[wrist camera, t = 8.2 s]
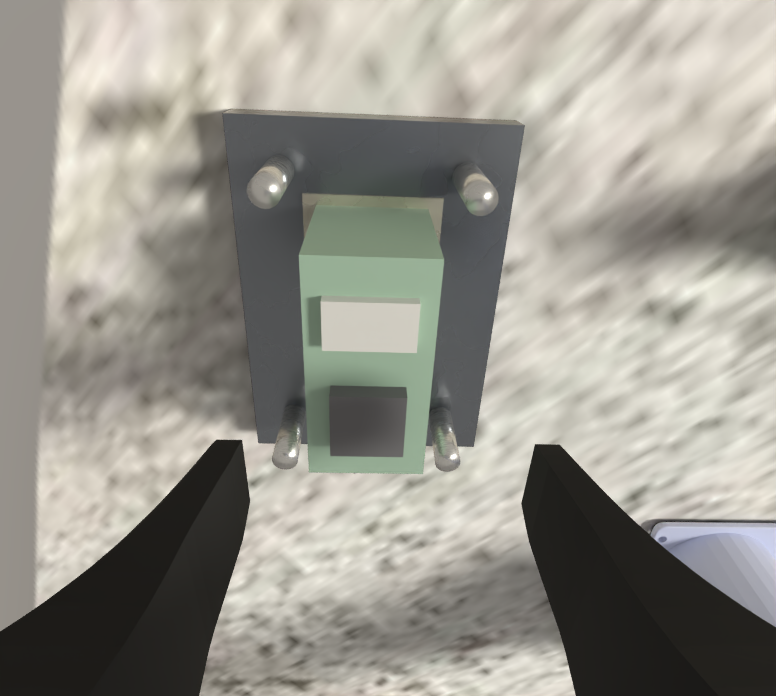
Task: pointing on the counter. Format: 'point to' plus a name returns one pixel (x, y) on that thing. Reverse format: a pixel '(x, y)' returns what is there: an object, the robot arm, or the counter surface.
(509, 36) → the counter surface
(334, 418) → the module
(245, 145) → the chassis
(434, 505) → the counter surface
